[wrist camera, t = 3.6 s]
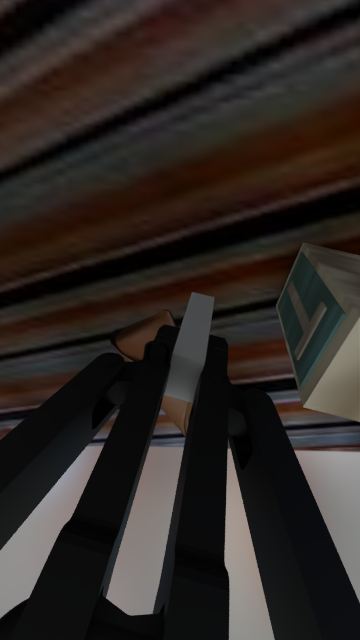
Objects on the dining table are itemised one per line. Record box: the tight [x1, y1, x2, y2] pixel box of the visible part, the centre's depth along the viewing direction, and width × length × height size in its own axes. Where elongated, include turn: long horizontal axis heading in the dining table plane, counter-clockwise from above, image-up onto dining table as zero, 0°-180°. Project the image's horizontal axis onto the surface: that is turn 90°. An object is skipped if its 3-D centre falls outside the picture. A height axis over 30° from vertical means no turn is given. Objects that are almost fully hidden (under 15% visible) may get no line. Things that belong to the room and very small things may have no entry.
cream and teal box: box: [276, 242, 360, 422], centre depth 22 cm, size 6×7×14 cm
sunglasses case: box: [110, 310, 193, 436], centre depth 36 cm, size 18×7×7 cm
